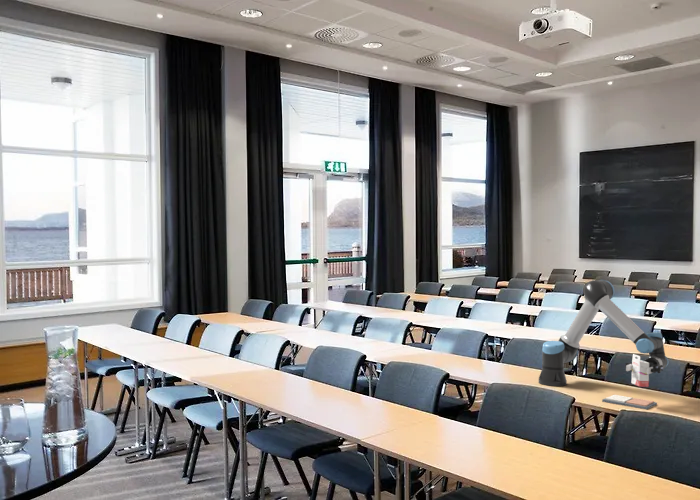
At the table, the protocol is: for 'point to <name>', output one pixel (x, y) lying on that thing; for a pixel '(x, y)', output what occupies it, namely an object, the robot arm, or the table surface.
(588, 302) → the robot arm
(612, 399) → the tile board
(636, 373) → the ink cartridge box
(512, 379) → the table surface
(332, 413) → the table surface
